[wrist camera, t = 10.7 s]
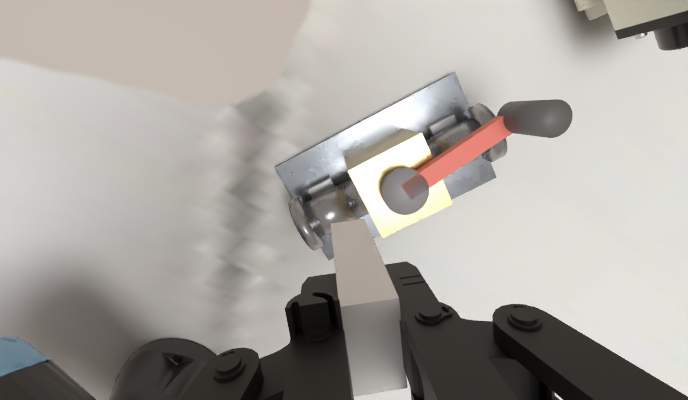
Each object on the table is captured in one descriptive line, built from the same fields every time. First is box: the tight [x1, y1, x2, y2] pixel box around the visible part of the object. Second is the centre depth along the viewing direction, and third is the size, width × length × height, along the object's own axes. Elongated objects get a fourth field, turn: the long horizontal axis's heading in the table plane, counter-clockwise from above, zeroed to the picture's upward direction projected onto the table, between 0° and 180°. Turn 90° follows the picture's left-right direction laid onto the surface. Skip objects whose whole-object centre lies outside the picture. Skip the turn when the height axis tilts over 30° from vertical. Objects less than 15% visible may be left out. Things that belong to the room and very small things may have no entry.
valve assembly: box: [275, 72, 507, 260], centre depth 37 cm, size 24×14×10 cm, turn 117°
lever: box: [381, 100, 572, 215], centre depth 28 cm, size 16×4×6 cm, turn 125°
